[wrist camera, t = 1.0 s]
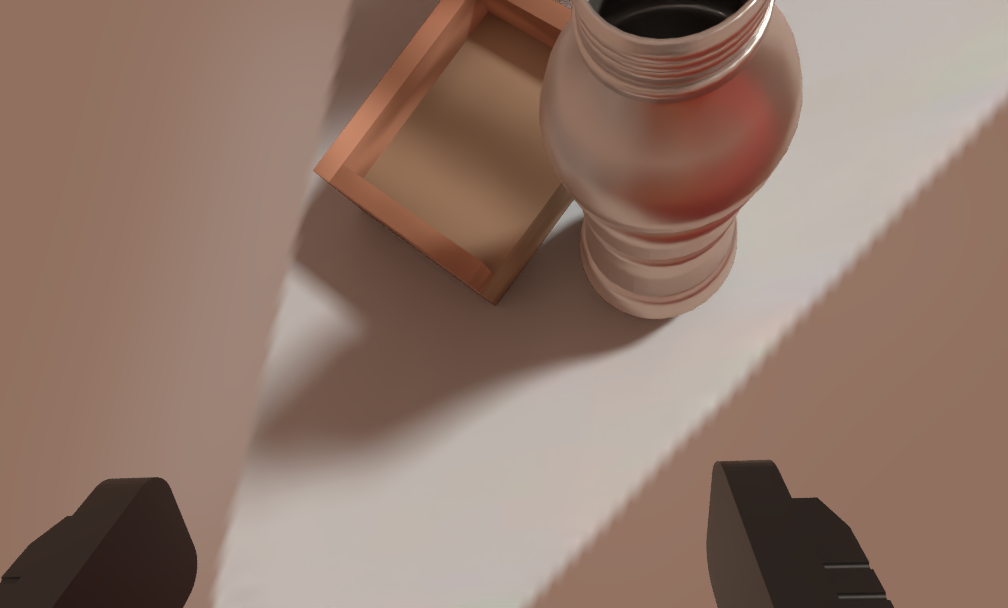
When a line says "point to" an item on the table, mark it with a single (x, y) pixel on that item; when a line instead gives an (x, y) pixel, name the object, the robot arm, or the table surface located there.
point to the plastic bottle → (667, 137)
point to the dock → (461, 141)
